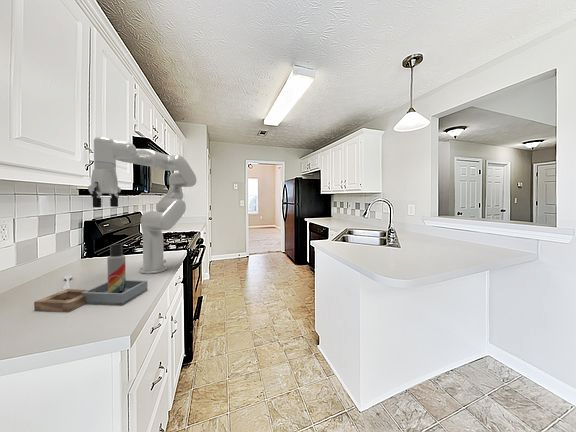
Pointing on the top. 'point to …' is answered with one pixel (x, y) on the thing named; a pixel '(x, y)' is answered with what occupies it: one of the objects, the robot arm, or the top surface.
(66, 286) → the fork
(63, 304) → the socket stand
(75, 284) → the top surface
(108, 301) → the tray
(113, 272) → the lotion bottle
